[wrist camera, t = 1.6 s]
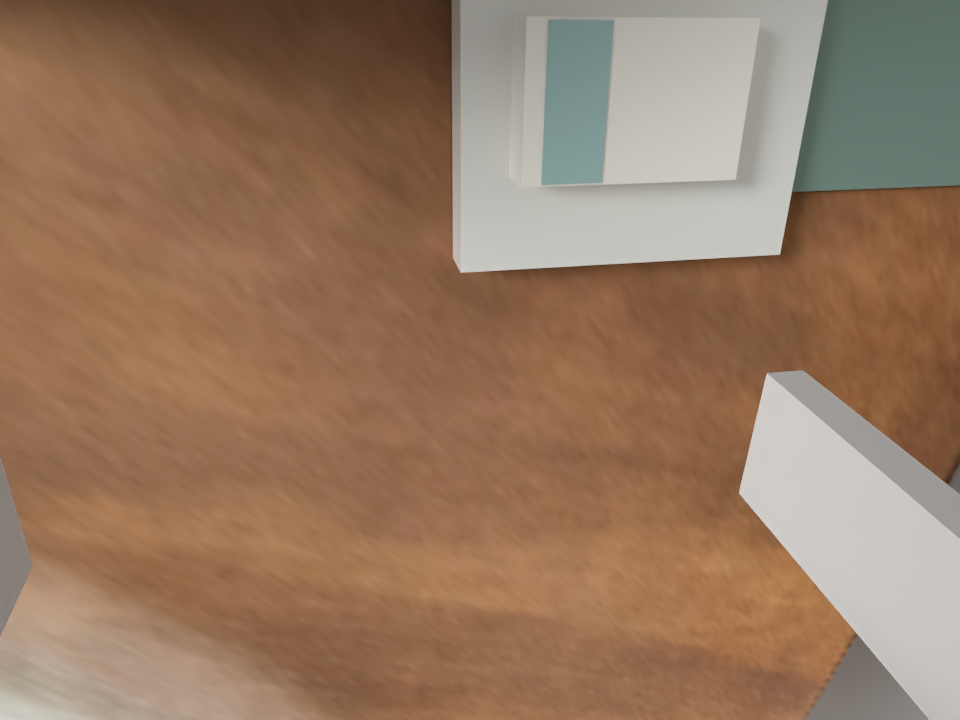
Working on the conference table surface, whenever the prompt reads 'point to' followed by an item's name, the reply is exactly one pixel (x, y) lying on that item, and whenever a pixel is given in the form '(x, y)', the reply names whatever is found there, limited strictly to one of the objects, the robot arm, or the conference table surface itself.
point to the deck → (624, 207)
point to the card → (628, 98)
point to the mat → (884, 98)
